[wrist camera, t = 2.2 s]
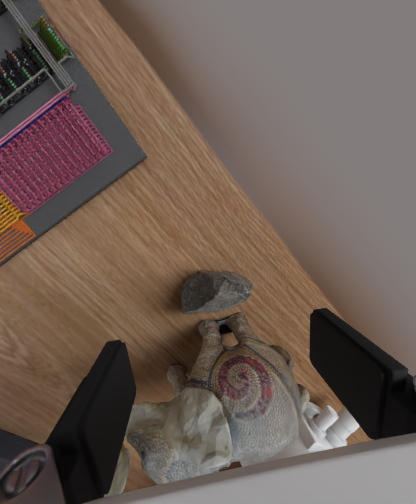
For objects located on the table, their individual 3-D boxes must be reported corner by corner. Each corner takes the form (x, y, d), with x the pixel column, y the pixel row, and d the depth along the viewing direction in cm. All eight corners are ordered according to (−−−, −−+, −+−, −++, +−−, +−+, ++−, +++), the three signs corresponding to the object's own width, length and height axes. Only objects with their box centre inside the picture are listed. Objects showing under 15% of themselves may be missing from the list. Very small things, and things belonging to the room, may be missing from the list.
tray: (-3, 427, 22) (-23, 449, 20) (101, 467, 25) (93, 491, 23) (-56, 508, 24) (-79, 536, 22) (46, 538, 26) (35, 565, 24)
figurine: (177, 289, 25) (87, 362, 10) (296, 322, 23) (406, 473, 8) (160, 360, 26) (55, 527, 11) (274, 398, 24) (337, 660, 9)
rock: (177, 292, 23) (166, 330, 18) (202, 240, 19) (195, 272, 15) (228, 310, 24) (228, 351, 19) (261, 264, 20) (271, 301, 16)
